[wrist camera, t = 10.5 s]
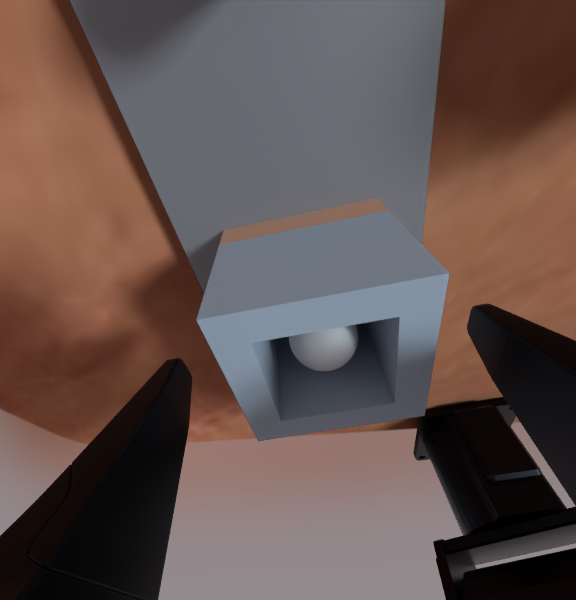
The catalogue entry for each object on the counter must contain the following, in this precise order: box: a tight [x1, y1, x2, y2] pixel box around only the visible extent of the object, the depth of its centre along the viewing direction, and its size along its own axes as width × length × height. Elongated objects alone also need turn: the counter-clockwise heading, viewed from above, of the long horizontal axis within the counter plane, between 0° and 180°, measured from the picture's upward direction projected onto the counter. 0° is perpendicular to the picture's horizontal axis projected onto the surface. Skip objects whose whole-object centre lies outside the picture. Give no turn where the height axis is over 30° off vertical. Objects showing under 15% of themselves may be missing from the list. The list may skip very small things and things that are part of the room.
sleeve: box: [196, 198, 449, 441], centre depth 10 cm, size 6×6×5 cm
